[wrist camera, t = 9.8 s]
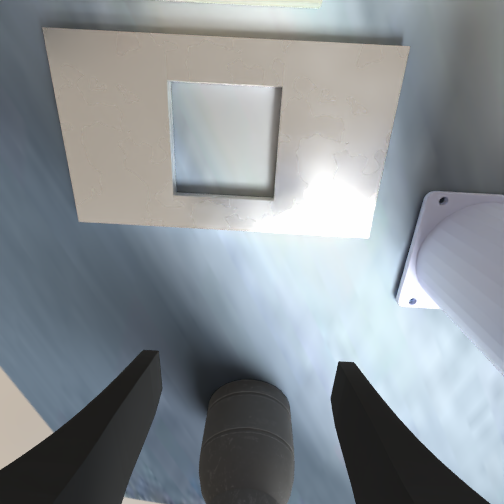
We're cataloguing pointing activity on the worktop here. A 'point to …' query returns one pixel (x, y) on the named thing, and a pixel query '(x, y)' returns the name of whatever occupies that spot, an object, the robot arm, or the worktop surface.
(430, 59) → the worktop surface
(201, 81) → the rail plate
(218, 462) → the flashlight
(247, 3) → the tile
